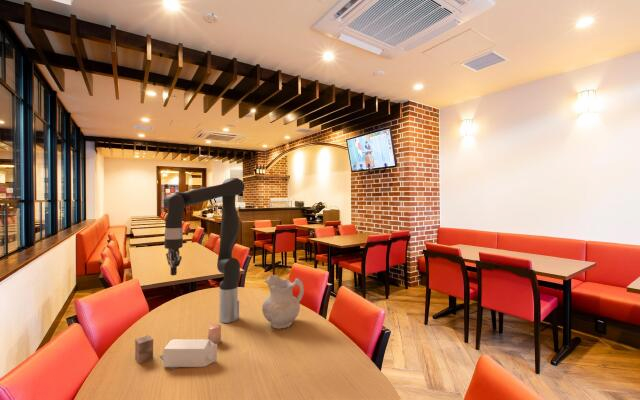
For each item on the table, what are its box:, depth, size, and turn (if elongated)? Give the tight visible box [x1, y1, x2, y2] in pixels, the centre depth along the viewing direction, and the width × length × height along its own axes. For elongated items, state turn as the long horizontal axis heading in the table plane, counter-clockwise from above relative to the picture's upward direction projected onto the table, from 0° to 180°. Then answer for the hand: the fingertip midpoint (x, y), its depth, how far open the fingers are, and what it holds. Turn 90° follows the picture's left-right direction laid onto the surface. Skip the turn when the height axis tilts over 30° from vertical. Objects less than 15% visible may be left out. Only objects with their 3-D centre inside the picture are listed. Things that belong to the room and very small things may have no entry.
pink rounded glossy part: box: [207, 323, 222, 346], centre depth 132 cm, size 6×6×7 cm
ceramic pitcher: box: [261, 274, 305, 330], centre depth 152 cm, size 22×20×25 cm
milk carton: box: [162, 338, 218, 368], centre depth 116 cm, size 7×7×19 cm
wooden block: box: [134, 334, 154, 365], centre depth 118 cm, size 5×5×8 cm
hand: (173, 274), depth 136 cm, fingers closed
